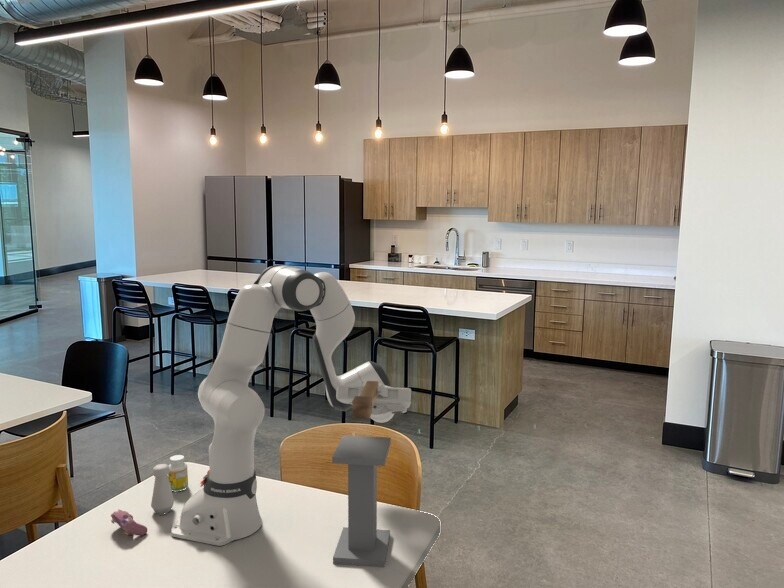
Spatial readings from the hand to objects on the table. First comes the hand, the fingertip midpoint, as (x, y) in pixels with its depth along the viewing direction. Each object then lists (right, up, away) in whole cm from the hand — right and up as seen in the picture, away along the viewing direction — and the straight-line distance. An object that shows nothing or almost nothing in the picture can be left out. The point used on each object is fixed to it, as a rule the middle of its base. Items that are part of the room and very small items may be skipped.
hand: (370, 389), depth 146 cm
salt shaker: (-57, -35, +9) cm, 68 cm away
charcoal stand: (-2, -37, -8) cm, 38 cm away
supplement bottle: (-58, -33, +22) cm, 70 cm away
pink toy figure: (-62, -36, -1) cm, 72 cm away
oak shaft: (-1, -3, -6) cm, 7 cm away
